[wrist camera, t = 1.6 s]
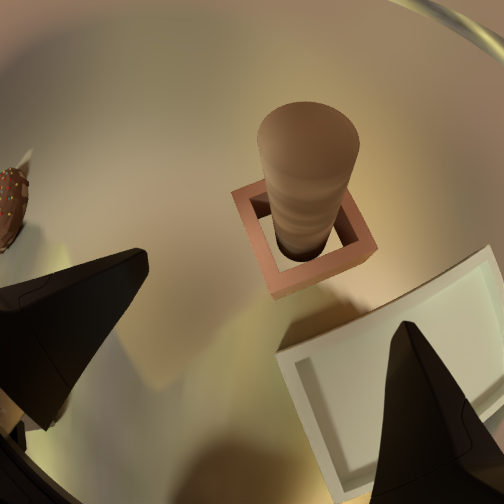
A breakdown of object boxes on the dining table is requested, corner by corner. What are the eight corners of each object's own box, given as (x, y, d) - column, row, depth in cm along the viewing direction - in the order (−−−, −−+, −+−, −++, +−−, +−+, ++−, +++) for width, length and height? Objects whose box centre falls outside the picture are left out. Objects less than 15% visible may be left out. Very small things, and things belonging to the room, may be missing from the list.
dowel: (287, 269, 21) (281, 194, 9) (268, 224, 22) (243, 118, 10) (334, 250, 21) (378, 160, 9) (313, 207, 22) (328, 93, 10)
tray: (331, 490, 16) (334, 504, 13) (276, 351, 20) (274, 354, 17) (510, 380, 15) (525, 381, 12) (474, 252, 19) (489, 244, 17)
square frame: (274, 300, 21) (270, 293, 17) (240, 214, 23) (230, 191, 19) (363, 262, 20) (378, 248, 17) (323, 182, 23) (328, 156, 19)
